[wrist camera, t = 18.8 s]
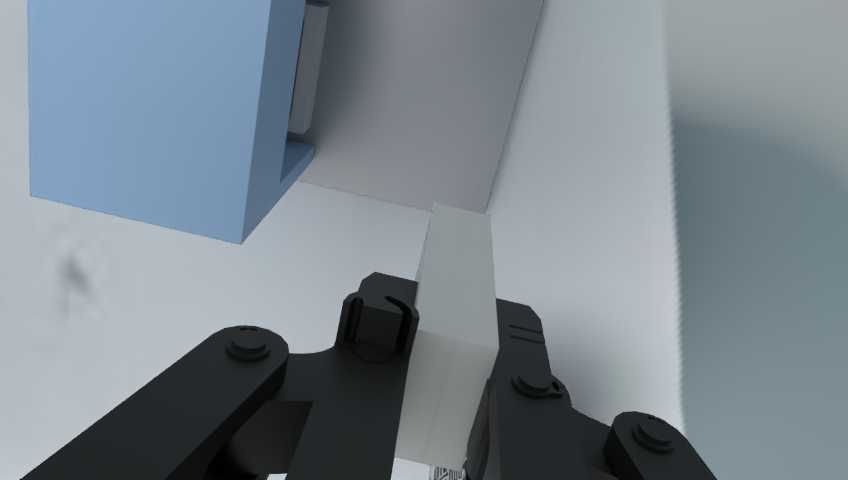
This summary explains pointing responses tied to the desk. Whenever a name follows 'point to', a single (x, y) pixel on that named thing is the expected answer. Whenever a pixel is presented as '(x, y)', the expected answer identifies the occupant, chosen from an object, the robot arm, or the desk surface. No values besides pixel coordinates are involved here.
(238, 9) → the housing cover
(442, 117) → the housing base
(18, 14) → the desk surface
